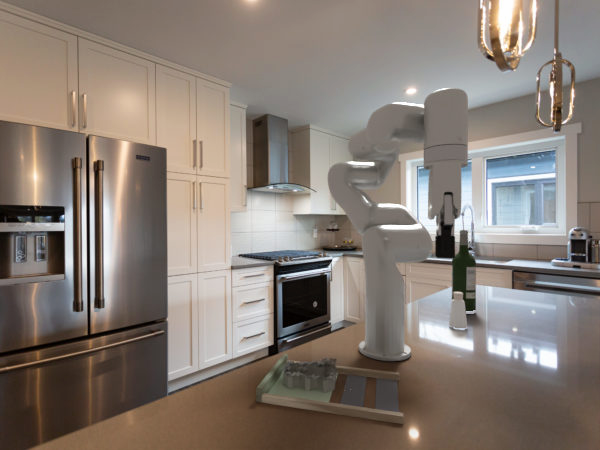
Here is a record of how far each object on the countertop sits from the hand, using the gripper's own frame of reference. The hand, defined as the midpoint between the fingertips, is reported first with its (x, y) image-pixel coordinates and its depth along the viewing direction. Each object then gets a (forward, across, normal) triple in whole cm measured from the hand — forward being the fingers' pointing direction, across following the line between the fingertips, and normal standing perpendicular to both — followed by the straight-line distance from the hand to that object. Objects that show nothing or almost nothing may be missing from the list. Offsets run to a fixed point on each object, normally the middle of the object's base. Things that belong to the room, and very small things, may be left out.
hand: (444, 257), depth 61 cm
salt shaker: (+26, -45, +9) cm, 53 cm away
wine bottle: (+26, -67, +13) cm, 73 cm away
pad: (+26, +5, -26) cm, 37 cm away
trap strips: (+26, +4, -13) cm, 29 cm away
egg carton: (+26, +3, -25) cm, 36 cm away
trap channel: (+26, +4, -20) cm, 33 cm away
